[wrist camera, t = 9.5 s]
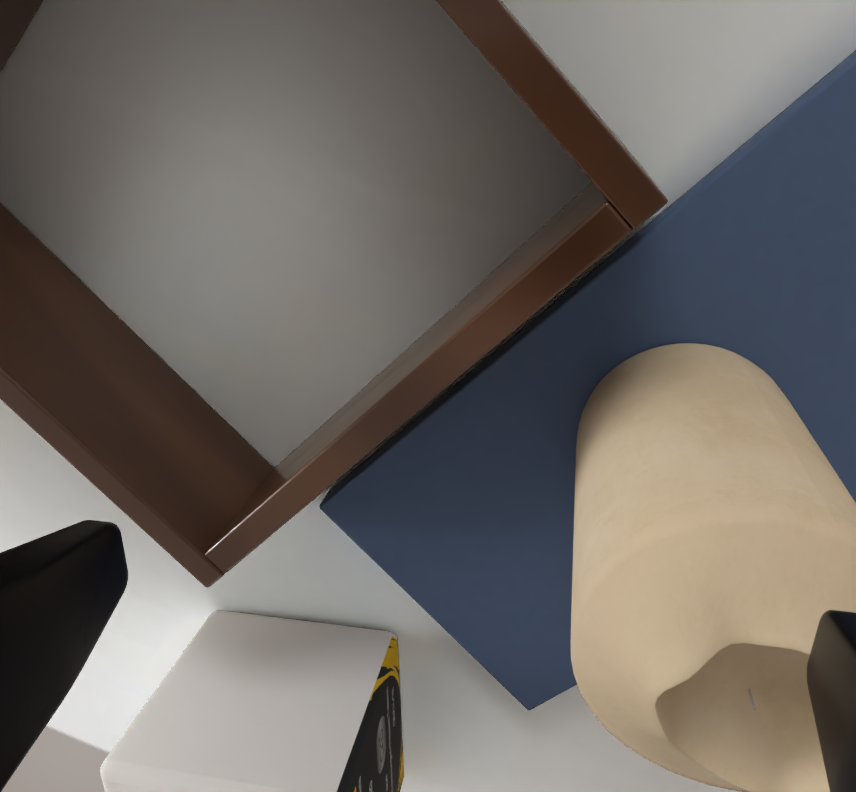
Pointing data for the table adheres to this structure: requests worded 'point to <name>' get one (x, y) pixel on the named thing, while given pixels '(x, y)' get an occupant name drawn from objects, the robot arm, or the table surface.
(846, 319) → the mat
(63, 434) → the crate
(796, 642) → the candle
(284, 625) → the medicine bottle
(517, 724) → the table surface
